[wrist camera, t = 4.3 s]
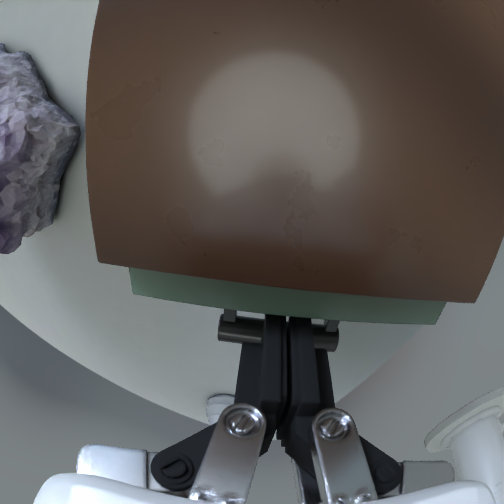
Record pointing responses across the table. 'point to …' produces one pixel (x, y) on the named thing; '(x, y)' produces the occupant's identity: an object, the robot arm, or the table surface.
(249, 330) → the drawer
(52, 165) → the geode
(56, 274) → the table surface
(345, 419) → the robot arm
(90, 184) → the cabinet
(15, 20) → the table surface
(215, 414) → the rook chess piece
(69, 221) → the table surface
